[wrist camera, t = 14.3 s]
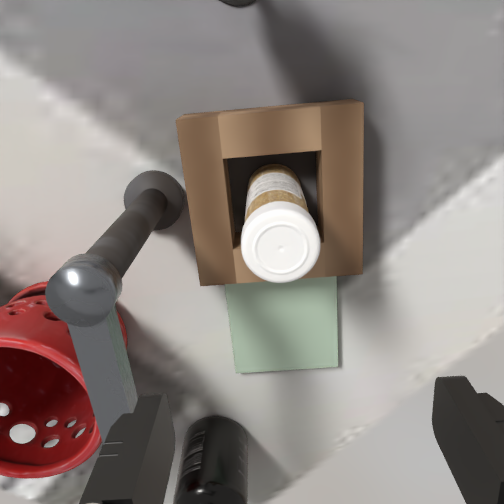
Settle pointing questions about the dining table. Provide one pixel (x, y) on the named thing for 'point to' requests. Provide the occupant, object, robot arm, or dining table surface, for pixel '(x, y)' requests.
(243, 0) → the sundae
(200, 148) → the walnut dock
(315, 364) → the green mat
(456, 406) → the robot arm
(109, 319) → the bar
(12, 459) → the plant pot
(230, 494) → the supplement bottle
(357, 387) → the dining table surface
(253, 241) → the sprinkles bottle
